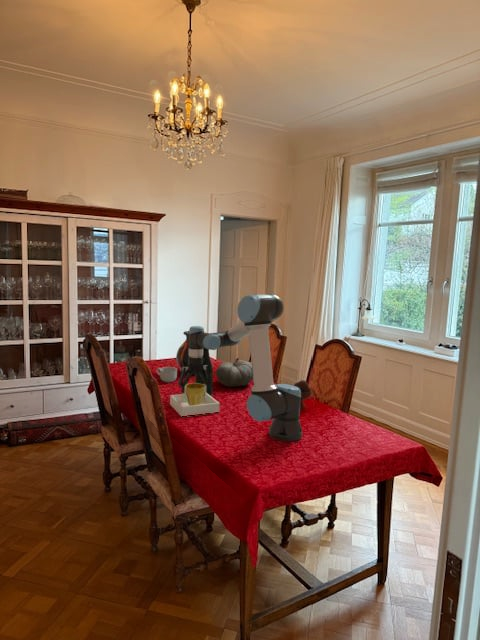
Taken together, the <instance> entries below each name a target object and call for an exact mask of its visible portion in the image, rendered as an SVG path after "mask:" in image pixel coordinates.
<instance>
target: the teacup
mask: <svg viewBox="0 0 480 640" xmlns="http://www.w3.org/2000/svg"><path fill="white" fill-rule="evenodd" d="M156 374H157V375H158V376H159V378H160V380H161V381H162V382H163V383H173V382H175V380H176V379H177V377H178V368H177V367H174V366H163V367H157V368H156Z"/></svg>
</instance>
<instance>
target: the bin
mask: <svg viewBox="0 0 480 640" xmlns="http://www.w3.org/2000/svg"><path fill="white" fill-rule="evenodd" d="M169 398H170V399H169V405H170V406H171V407H172V408H173V409H174V411H176V412H177V414H178V415H179V416H180V417H182V416H187V415H195V414H203V415H206V414H205V413H211V414H215V413H214V412H219V413H220V402H219V401H218V400H216V399H215V398H214V397H213V396H212V395H211V396H210V395H209V394H207V393H206V397H202V401H201V404H200V405H189V404H188V400H187V395H186V400H184V399H183V393H181V394H171V395H169ZM195 416H196V415H195ZM187 417H188V416H187Z"/></svg>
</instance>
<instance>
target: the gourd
mask: <svg viewBox="0 0 480 640" xmlns="http://www.w3.org/2000/svg"><path fill="white" fill-rule="evenodd" d="M215 377H216V379H217V380H218V382H219V383H220V384H221V385H223V386H225V387H228V388H232V387H244V386H247V385H249V384H250V383H251V382H252V381H253V371H252V362H250V361H246V360H242V359H239V357H236V359H235V361H233V362H229V361H228V362H223V363H220V365H218V366H217V367H216V370H215Z"/></svg>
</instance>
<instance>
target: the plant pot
mask: <svg viewBox="0 0 480 640" xmlns="http://www.w3.org/2000/svg"><path fill="white" fill-rule="evenodd" d="M185 387H186V395H187V400H188V404H189V405H200V404H201V401H202V397H203V393H204V392H205V386H204V385H203V384H200V383H195V382H190V383H187V384H186V386H185Z"/></svg>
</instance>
